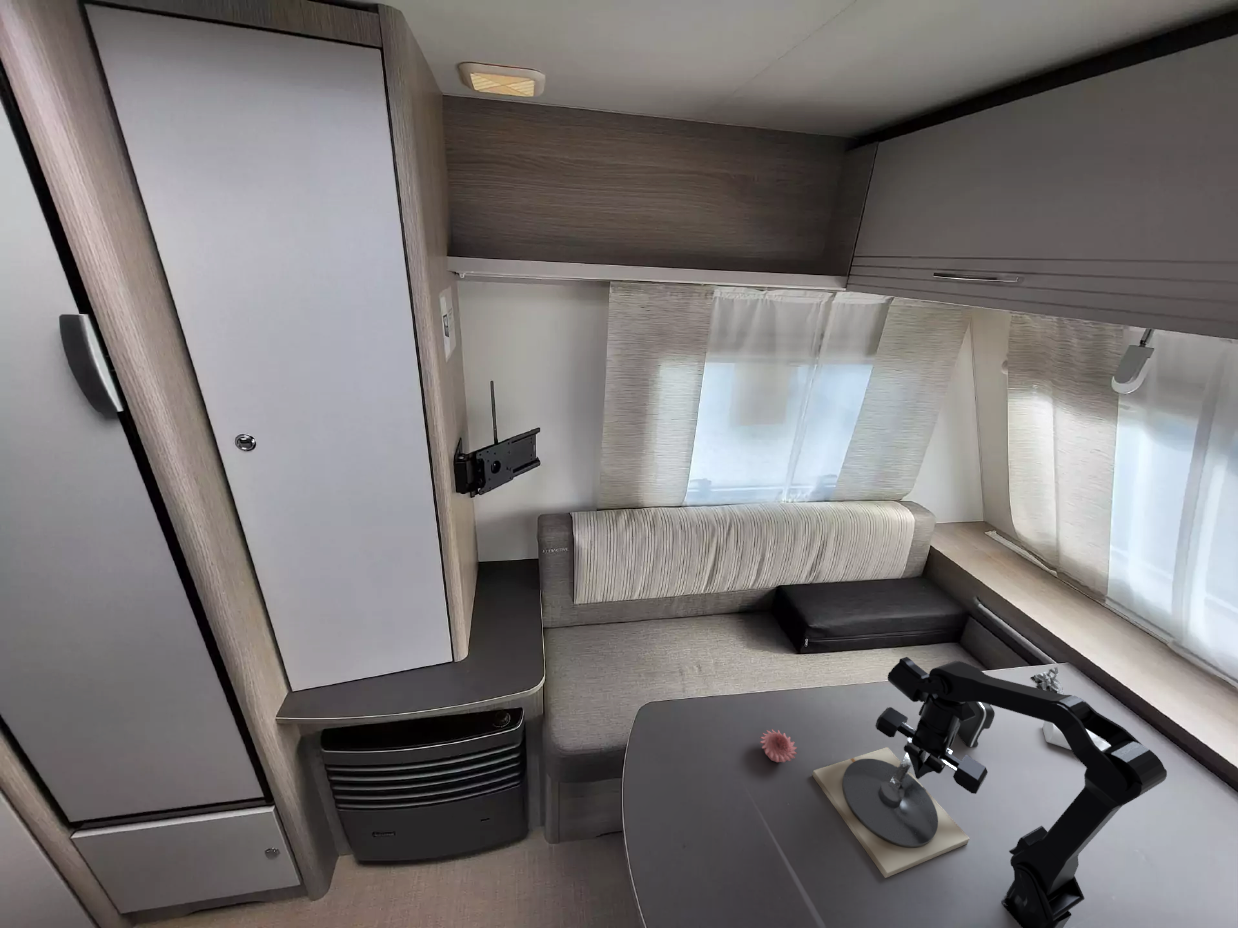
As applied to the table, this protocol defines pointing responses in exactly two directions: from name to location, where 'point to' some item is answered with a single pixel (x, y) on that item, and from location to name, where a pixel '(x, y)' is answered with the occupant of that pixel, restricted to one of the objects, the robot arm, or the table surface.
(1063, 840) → the robot arm
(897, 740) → the table surface
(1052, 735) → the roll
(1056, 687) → the grey irregular lump
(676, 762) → the table surface
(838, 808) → the dial board
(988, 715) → the battery charger
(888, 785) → the dial
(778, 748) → the flower
